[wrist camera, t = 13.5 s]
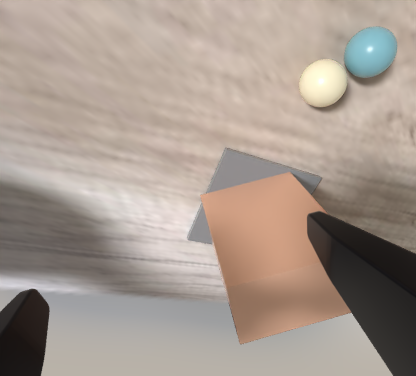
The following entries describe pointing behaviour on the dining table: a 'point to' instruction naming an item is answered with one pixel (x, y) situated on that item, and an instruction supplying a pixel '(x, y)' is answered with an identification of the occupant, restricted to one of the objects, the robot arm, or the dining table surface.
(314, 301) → the peach rectangular box
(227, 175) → the plate
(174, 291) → the dining table surface
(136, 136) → the dining table surface
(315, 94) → the marble
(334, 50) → the dining table surface
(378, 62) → the marble
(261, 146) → the dining table surface
